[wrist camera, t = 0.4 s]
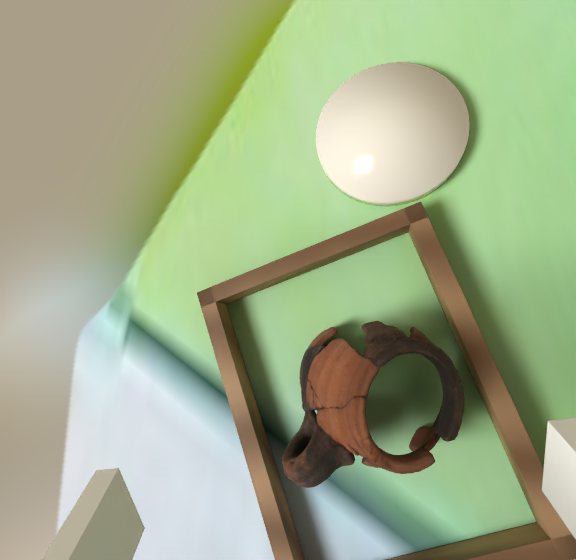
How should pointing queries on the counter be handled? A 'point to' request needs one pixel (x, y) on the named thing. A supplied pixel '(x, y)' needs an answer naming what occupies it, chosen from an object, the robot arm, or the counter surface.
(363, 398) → the brown hollow round piece
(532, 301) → the counter surface
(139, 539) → the robot arm
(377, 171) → the white dome
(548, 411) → the counter surface
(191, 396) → the counter surface
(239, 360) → the walnut frame
